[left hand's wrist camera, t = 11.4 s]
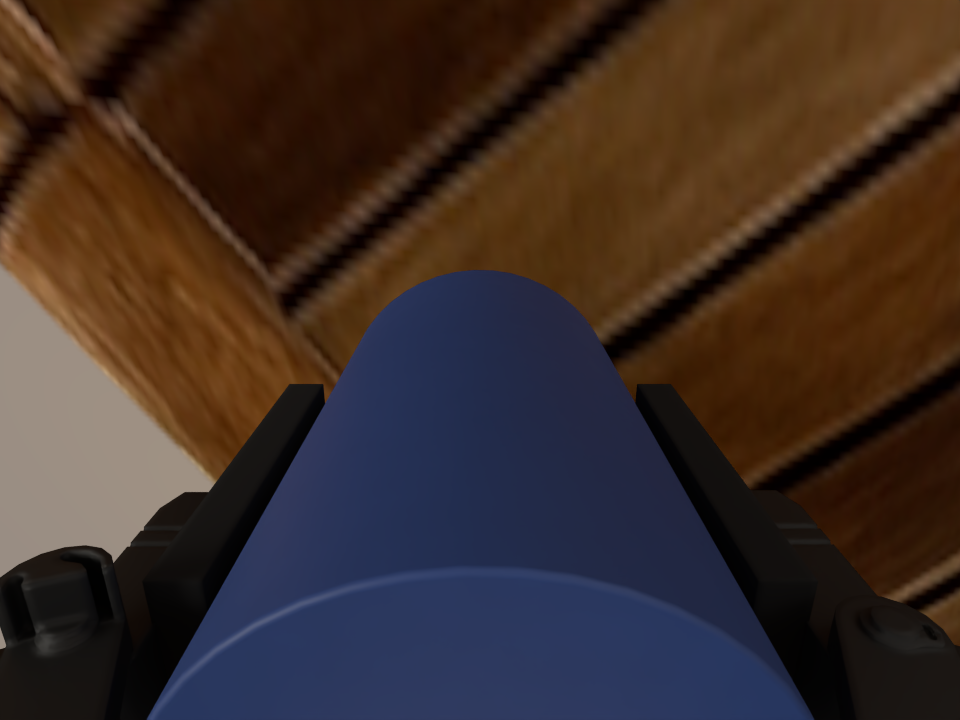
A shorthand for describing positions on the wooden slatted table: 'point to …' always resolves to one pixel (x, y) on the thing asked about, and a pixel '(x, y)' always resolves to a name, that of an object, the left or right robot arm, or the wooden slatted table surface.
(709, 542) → the blue cylinder
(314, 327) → the wooden slatted table surface
